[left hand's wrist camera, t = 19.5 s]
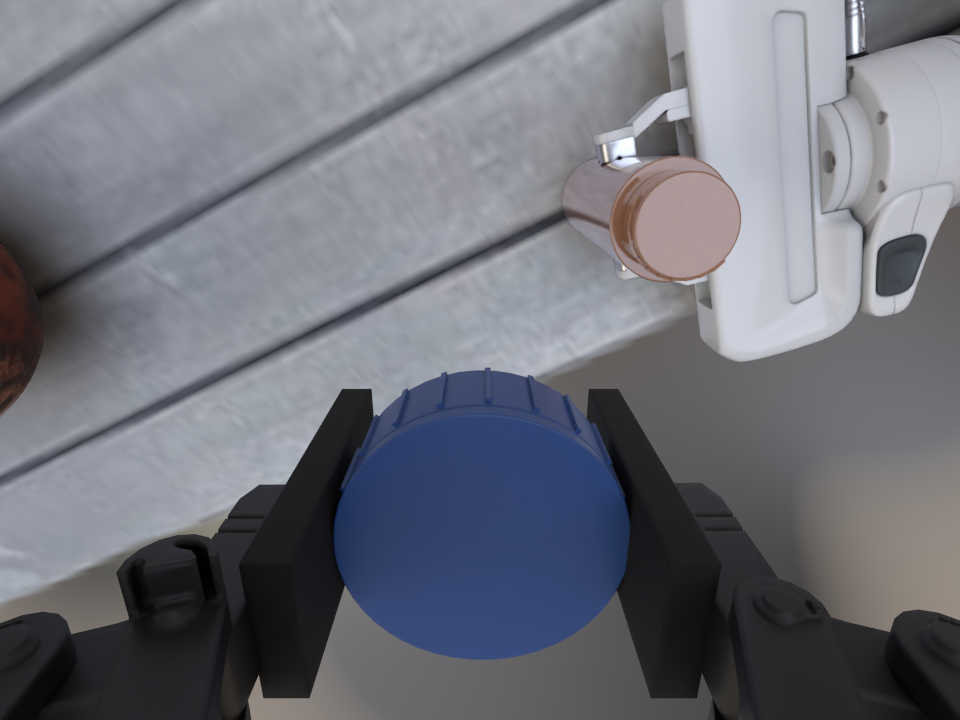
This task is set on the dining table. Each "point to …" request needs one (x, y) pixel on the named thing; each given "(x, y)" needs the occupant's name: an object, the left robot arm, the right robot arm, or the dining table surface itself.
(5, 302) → the brown and white balloon
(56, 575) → the dining table surface
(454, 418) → the lid
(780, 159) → the right robot arm
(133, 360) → the dining table surface
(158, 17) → the dining table surface
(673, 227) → the jar
